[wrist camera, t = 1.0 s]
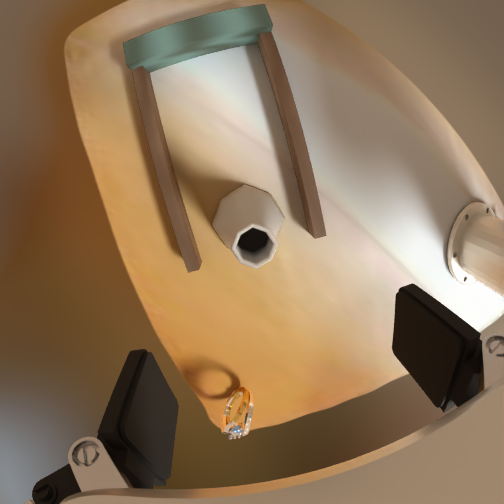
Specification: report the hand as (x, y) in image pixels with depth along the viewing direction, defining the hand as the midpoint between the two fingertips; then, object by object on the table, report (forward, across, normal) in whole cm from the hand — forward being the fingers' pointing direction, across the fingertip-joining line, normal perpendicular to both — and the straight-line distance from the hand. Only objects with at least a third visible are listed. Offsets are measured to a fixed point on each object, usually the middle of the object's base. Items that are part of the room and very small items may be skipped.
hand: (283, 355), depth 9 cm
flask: (+21, -1, -1) cm, 21 cm away
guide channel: (+21, 0, -10) cm, 23 cm away
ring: (+21, +6, +23) cm, 31 cm away
